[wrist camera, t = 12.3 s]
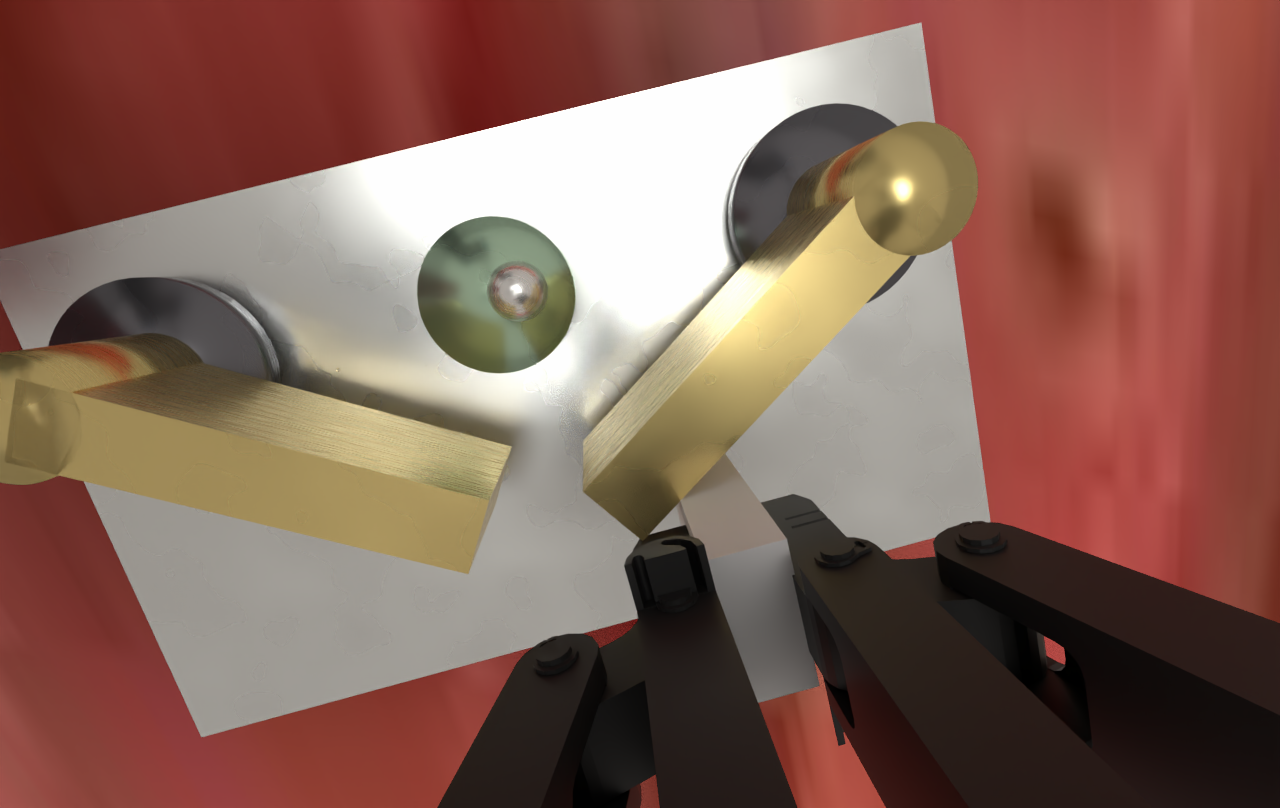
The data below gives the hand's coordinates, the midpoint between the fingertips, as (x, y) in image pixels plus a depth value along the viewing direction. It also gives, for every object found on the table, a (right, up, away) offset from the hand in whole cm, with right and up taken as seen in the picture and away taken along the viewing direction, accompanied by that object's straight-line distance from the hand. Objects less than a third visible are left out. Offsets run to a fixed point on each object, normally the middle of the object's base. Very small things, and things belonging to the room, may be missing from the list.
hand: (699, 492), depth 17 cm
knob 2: (+1, +5, 0) cm, 5 cm away
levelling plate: (-5, +3, +3) cm, 6 cm away
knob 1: (-10, +2, 0) cm, 11 cm away
